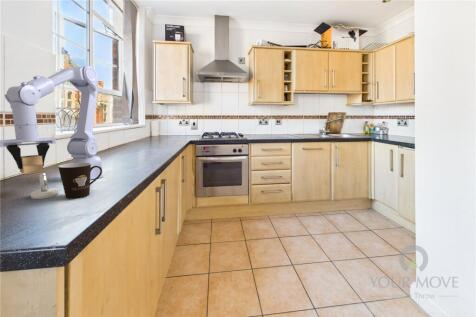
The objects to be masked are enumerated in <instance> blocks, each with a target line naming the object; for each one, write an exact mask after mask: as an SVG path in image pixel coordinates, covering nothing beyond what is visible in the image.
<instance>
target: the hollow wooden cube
mask: <svg viewBox="0 0 476 317" xmlns="http://www.w3.org/2000/svg"><path fill="white" fill-rule="evenodd" d="M21 161H22V169H19V173H21V174H24V175H26V174H27V175H28V174H34V173H44V166H43V162H42V156H39V155H38V154H31V155H23V156H22V155H21Z"/></svg>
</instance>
